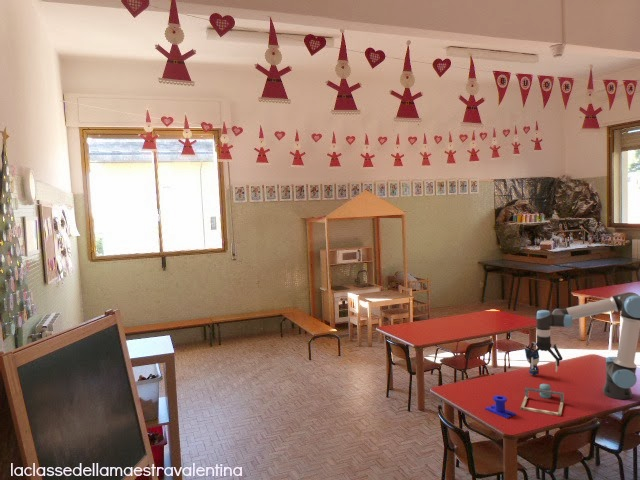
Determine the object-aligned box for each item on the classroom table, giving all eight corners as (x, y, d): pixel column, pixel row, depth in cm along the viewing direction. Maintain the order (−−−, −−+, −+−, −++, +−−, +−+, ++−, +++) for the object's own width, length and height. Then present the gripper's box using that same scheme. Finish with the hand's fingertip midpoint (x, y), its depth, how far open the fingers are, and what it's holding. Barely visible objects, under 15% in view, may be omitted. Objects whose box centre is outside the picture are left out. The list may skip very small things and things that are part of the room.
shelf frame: (563, 403, 282) (563, 401, 282) (560, 416, 265) (560, 414, 265) (525, 397, 293) (525, 395, 293) (520, 409, 276) (520, 407, 276)
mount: (485, 410, 278) (485, 395, 277) (493, 406, 282) (493, 392, 281) (507, 419, 265) (506, 403, 264) (515, 415, 269) (515, 400, 268)
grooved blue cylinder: (551, 395, 294) (551, 384, 293) (550, 399, 288) (550, 388, 288) (540, 394, 297) (540, 383, 297) (539, 397, 292) (538, 386, 291)
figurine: (541, 378, 322) (541, 350, 321) (527, 378, 324) (526, 349, 323) (537, 372, 335) (536, 344, 334) (523, 372, 337) (522, 344, 336)
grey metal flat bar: (563, 403, 282) (563, 392, 282) (563, 404, 281) (563, 393, 280) (525, 397, 293) (525, 387, 293) (525, 398, 292) (524, 388, 291)
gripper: (566, 336, 288) (567, 370, 289) (522, 332, 301) (523, 365, 302) (565, 339, 281) (566, 374, 283) (520, 335, 294) (521, 368, 296)
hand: (544, 369), depth 292 cm, fingers open, 13 cm apart
